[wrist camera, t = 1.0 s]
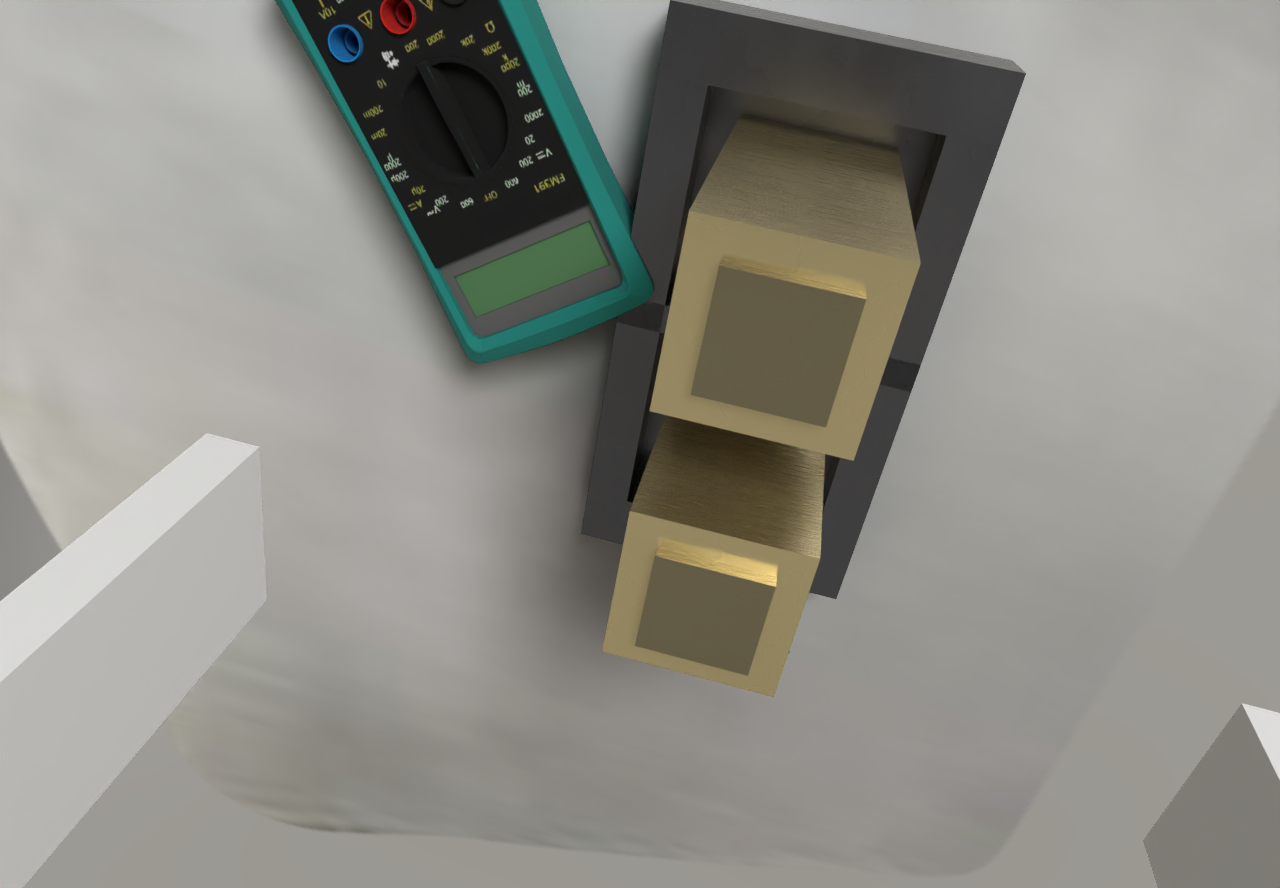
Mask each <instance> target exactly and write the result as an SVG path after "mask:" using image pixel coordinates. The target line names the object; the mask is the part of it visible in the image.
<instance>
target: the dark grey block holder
mask: <svg viewBox="0 0 1280 888" xmlns="http://www.w3.org/2000/svg"><path fill="white" fill-rule="evenodd" d="M1025 75H1026V73H1025V72H1024V71H1023V70H1022V69H1021V68H1020V67H1018V66H1017V65H1016V64H1015V63H1014V62H1013V61H1011V60H1006V59H1001V58H996V57H992V56H987V55H982V54H977V53H972V52H967V51H962V50H958V49H953V48H948V47H943V46H938V45H933V44H928V43H924V42H919V41H914V40H909V39H904V38H899V37H894V36H890V35H885V34H880V33H875V32H870V31H865V30H860V29H856V28H851V27H846V26H841V25H836V24H831V23H826V22H822V21H817V20H812V19H807V18H802V17H797V16H792V15H788V14H783V13H778V12H773V11H768V10H763V9H758V8H754V7H749V6H744V5H739V4H734V3H729V2H724V1H720V0H670V4H669V10H668V16H667V22H666V28H665V34H664V40H663V46H662V52H661V58H660V64H659V70H658V76H657V82H656V88H655V94H654V100H653V106H652V112H651V118H650V124H649V130H648V136H647V142H646V148H645V154H644V160H643V166H642V172H641V178H640V184H639V190H638V196H637V202H636V208H635V214H634V220H633V226H632V232H631V240H632V242H633V244H634V246H635V248H636V250H637V252H638V254H639V256H640V258H641V260H642V262H643V264H644V266H645V268H646V270H647V272H648V274H649V276H650V278H651V280H652V282H653V288H654V291H653V293H652V296H651V298H650V299H649V300H647V301H646V302H645V303H643V304H641V305H639V306H637V307H635V308H633V309H630V310H628V311H626V312H624V313H622V314H620V315H618V316H617V322H616V328H615V334H614V340H613V346H612V352H611V358H610V364H609V370H608V376H607V382H606V388H605V394H604V400H603V406H602V412H601V418H600V424H599V430H598V436H597V442H596V448H595V454H594V460H593V466H592V472H591V478H590V484H589V490H588V496H587V502H586V508H585V514H584V520H583V526H582V532H581V534H584V535H588V536H592V537H596V538H600V539H604V540H608V541H612V542H616V543H619V544H623V543H624V538H625V533H626V527H627V522H628V517H629V512H630V509H631V506H632V503H633V501H634V498H635V495H636V493H637V490H638V487H639V484H640V482H641V479H642V476H643V473H644V471H645V468H646V465H647V463H648V460H649V457H650V454H651V452H652V449H653V446H654V444H655V441H656V438H657V435H658V433H659V430H660V427H661V424H662V422H663V419H664V416H665V415H663V414H659V413H655V412H651V411H650V406H651V401H652V396H653V391H654V386H655V381H656V376H657V370H658V365H659V360H660V355H661V350H662V345H663V340H664V335H665V330H666V325H667V320H668V315H669V310H670V305H671V300H672V294H673V289H674V284H675V279H676V274H677V269H678V264H679V259H680V254H681V249H682V244H683V239H684V234H685V229H686V224H687V219H688V213H689V210H690V208H691V206H692V204H693V202H694V200H695V199H696V197H697V195H698V193H699V191H700V189H701V187H702V185H703V184H704V182H705V180H706V178H707V176H708V174H709V172H710V171H711V169H712V167H713V165H714V163H715V161H716V159H717V157H718V156H719V154H720V152H721V150H722V148H723V146H724V144H725V143H726V141H727V139H728V137H729V135H730V133H731V131H732V129H733V128H734V126H735V124H736V122H737V120H738V118H739V116H740V115H741V114H742V115H746V116H751V117H755V118H760V119H765V120H769V121H774V122H779V123H783V124H788V125H793V126H797V127H802V128H807V129H811V130H816V131H820V132H825V133H830V134H834V135H839V136H844V137H848V138H853V139H858V140H862V141H867V142H871V143H876V144H881V145H885V146H890V147H895V148H898V149H899V154H900V160H901V165H902V170H903V175H904V180H905V185H906V190H907V195H908V200H909V205H910V210H911V215H912V220H913V225H914V230H915V236H916V241H917V246H918V251H919V256H920V261H921V264H920V267H919V270H918V273H917V276H916V279H915V281H914V284H913V287H912V290H911V293H910V296H909V299H908V302H907V305H906V308H905V311H904V314H903V317H902V320H901V323H900V326H899V329H898V332H897V335H896V337H895V340H894V343H893V346H892V349H891V352H890V355H889V358H888V361H887V364H886V367H885V370H884V373H883V376H882V379H881V382H880V385H879V388H878V390H877V393H876V396H875V399H874V402H873V405H872V408H871V411H870V414H869V417H868V420H867V423H866V426H865V429H864V432H863V435H862V438H861V441H860V443H859V446H858V449H857V452H856V455H855V458H854V461H852V460H848V459H844V458H840V457H836V456H832V455H827V454H825V469H824V490H823V511H822V533H821V554H820V561H819V564H818V567H817V570H816V573H815V576H814V579H813V582H812V585H811V588H810V591H809V592H810V593H814V594H818V595H822V596H826V597H830V598H834V599H836V598H837V595H838V593H839V590H840V587H841V584H842V581H843V579H844V576H845V573H846V570H847V568H848V565H849V562H850V559H851V557H852V554H853V551H854V548H855V545H856V543H857V540H858V537H859V534H860V532H861V529H862V526H863V523H864V521H865V518H866V515H867V512H868V509H869V507H870V504H871V501H872V498H873V496H874V493H875V490H876V487H877V485H878V482H879V479H880V476H881V473H882V471H883V468H884V465H885V462H886V460H887V457H888V454H889V451H890V449H891V446H892V443H893V440H894V437H895V435H896V432H897V429H898V426H899V424H900V421H901V418H902V415H903V413H904V410H905V407H906V404H907V401H908V399H909V396H910V393H911V390H912V388H913V385H914V382H915V379H916V377H917V374H918V371H919V368H920V365H921V363H922V360H923V357H924V354H925V352H926V349H927V346H928V343H929V341H930V338H931V335H932V332H933V329H934V327H935V324H936V321H937V318H938V316H939V313H940V310H941V307H942V305H943V302H944V299H945V296H946V293H947V291H948V288H949V285H950V282H951V280H952V277H953V274H954V271H955V269H956V266H957V263H958V260H959V257H960V255H961V252H962V249H963V246H964V244H965V241H966V238H967V235H968V233H969V230H970V227H971V224H972V221H973V219H974V216H975V213H976V210H977V208H978V205H979V202H980V199H981V197H982V194H983V191H984V188H985V185H986V183H987V180H988V177H989V174H990V172H991V169H992V166H993V163H994V161H995V158H996V155H997V152H998V149H999V147H1000V144H1001V141H1002V138H1003V136H1004V133H1005V130H1006V127H1007V125H1008V122H1009V119H1010V116H1011V113H1012V111H1013V108H1014V105H1015V102H1016V100H1017V97H1018V94H1019V91H1020V89H1021V86H1022V83H1023V80H1024V77H1025Z"/></svg>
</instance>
